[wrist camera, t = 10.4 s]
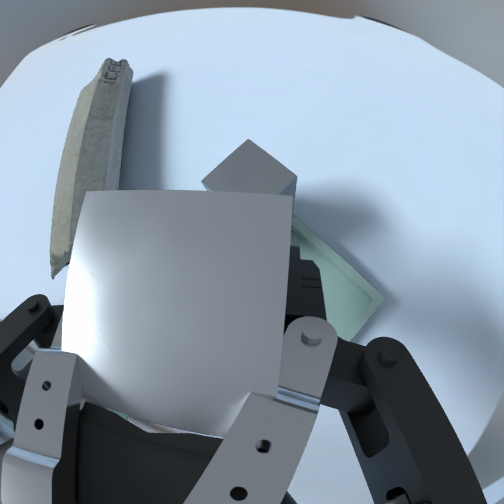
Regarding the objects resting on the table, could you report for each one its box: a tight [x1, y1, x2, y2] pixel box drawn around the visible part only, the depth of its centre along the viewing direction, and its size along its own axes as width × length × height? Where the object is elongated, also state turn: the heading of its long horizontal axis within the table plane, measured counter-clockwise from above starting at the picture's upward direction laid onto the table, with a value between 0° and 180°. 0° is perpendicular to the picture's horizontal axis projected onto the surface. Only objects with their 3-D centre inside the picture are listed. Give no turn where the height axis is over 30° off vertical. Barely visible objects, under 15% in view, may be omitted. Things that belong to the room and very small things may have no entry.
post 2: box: [201, 139, 297, 217], centre depth 22 cm, size 4×4×10 cm
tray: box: [290, 215, 385, 342], centre depth 25 cm, size 16×16×2 cm
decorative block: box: [50, 58, 133, 279], centre depth 28 cm, size 8×30×8 cm, turn 8°
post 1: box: [62, 190, 293, 437], centre depth 10 cm, size 4×4×10 cm
